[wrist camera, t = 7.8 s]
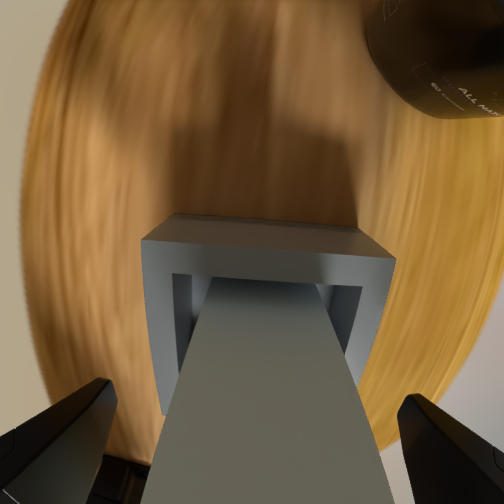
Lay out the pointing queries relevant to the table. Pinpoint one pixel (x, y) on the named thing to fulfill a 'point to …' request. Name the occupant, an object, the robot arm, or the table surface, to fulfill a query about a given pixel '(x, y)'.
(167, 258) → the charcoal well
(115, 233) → the table surface
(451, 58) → the supplement bottle
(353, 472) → the blue-grey block
